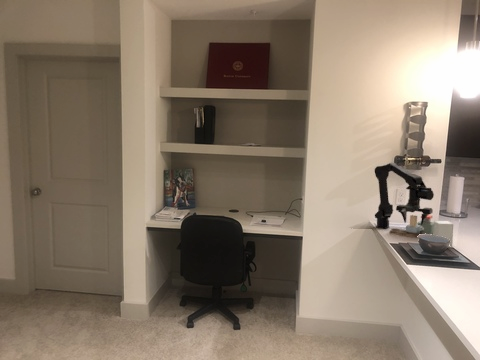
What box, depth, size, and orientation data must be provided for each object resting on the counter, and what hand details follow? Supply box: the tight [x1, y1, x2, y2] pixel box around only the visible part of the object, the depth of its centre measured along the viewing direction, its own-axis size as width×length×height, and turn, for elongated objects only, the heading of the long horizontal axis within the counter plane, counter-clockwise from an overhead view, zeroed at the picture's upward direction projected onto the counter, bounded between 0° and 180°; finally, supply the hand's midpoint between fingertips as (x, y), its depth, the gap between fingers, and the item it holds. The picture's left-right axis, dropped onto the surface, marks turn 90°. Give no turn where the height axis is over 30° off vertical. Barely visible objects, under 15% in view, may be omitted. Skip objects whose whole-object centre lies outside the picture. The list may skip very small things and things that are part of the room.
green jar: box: [417, 220, 434, 235], centre depth 223 cm, size 8×7×6 cm
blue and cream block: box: [405, 214, 421, 233], centre depth 216 cm, size 6×7×9 cm
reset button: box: [420, 214, 433, 224], centre depth 222 cm, size 5×5×6 cm
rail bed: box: [389, 227, 426, 239], centre depth 219 cm, size 18×7×4 cm, turn 46°
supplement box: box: [433, 220, 454, 247], centre depth 196 cm, size 7×7×13 cm
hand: (413, 223), depth 216 cm, fingers open, 9 cm apart
